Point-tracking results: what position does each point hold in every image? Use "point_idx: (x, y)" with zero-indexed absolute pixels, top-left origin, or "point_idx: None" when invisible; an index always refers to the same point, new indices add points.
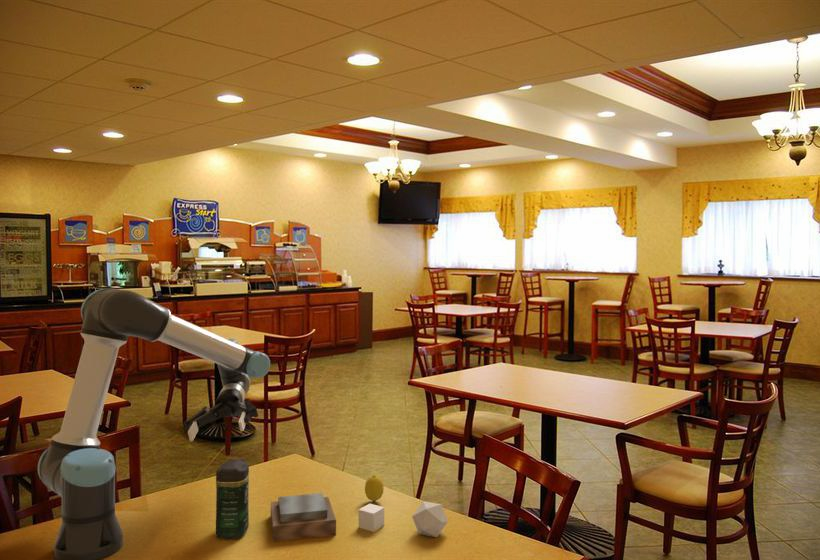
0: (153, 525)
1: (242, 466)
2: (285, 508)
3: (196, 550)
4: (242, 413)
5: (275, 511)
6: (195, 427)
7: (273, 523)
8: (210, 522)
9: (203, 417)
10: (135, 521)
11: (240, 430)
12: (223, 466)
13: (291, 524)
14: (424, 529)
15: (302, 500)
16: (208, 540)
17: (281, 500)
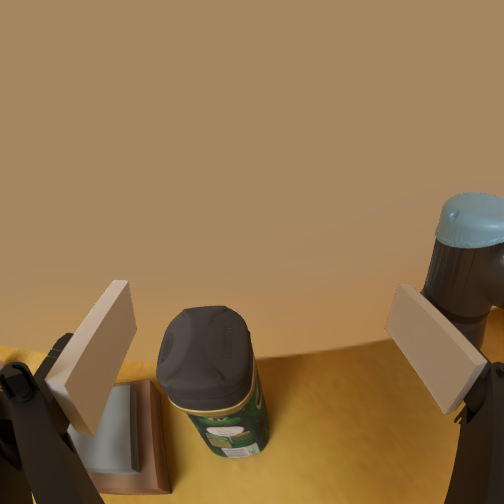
0: (414, 426)
1: (170, 340)
2: (120, 408)
3: (281, 364)
4: (71, 363)
5: (145, 438)
6: (441, 357)
7: (149, 388)
8: (303, 465)
9: (488, 441)
10: (455, 426)
11: (135, 324)
12: (226, 327)
13: (121, 383)
14: (1, 361)
15: (86, 439)
16: (275, 396)
17: (125, 448)
